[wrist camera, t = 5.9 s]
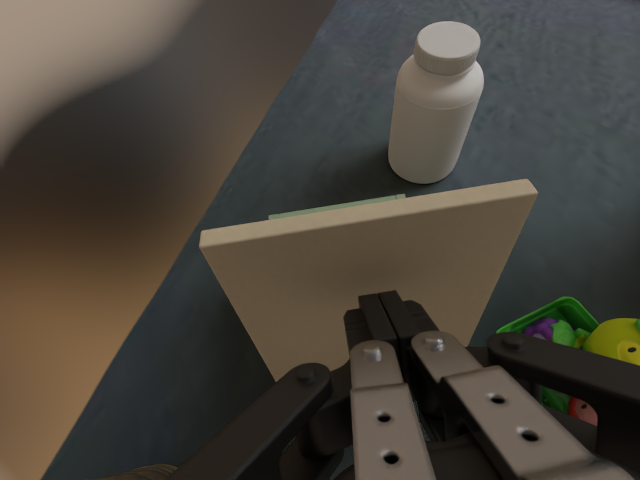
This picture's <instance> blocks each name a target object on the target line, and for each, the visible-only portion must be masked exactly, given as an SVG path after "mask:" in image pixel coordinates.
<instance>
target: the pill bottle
mask: <svg viewBox="0 0 640 480" xmlns="http://www.w3.org/2000/svg"><path fill="white" fill-rule="evenodd" d="M480 42H481V41H480V37H479V35H478V33H477V32H476V31H475V30H474V29H473V28H471V27H469V26H468V25H465V24H462V23H458V22H450V21H445V22H438V23H434V24H431V25H428V26H427V27H425V28H424V29H422V30H421V31H420V32H419V34H418V35H417V37H416V42H415V49H414V55H412V56H411V57H410V58H408V59H407V60H406V61H405V62H404V64H403V65H402V67H401V69H400V71H399V73H398V76H397V81H396V89H395V97H394V106H393V114H392V123H391V131H390V140H389V148H388V159H389V163H390V166H391V168H392V169H393V171H394V172H395V173H396V174H397V175H398V176H400V177H401V178H403V179H405V180H407V181H410V182H413V183H419V184H428V183H434V182H437V181H440V180H442V179H443V178H445V177H446V176H448V175H449V174H450V173H451V171H452V170H453V168H454V166H455V165H456V162H457V159H458V157H459V154H460V151H461V148H462V146H463V143H464V140H465V137H466V134H467V132H468V129H469V126H470V123H471V120H472V118H473V115H474V112H475V109H476V107H477V104H478V101H479V98H480V95H481V93H482V89H483V85H484V78H483V72H482V69H481V67H480V65H479V64H478V63H477V62H476V57H477V54H478V51H479V48H480Z"/></svg>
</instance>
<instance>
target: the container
mask: <svg viewBox="0 0 640 480" xmlns="http://www.w3.org/2000/svg"><path fill="white" fill-rule="evenodd" d="M177 468H178V467H175V466H172V465H168V464H154V465H149V466H145V467H141V468H137V469H133V470H130V471H128V472H124V473H118V474H114V475H111V476H108V477H106V478H100V479H89V480H164V479H166V478H167V477H168V476H169V475H170V474H171V473H173V472H174V471H175V470H176V469H177Z"/></svg>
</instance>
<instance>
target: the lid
mask: <svg viewBox="0 0 640 480" xmlns="http://www.w3.org/2000/svg"><path fill="white" fill-rule="evenodd" d="M537 195H538V192H537V190H536V189H535V188H534V186H533V185H532V184H531V182H530V181H529V180H528V179H521V180H515V181H509V182H503V183H497V184H490V185H484V186H478V187H472V188H465V189H459V190H453V191H447V192H441V193H434V194H428V195H422V196H416V197H409V198H403V199H397V200H391V201H384V202H378V203H372V204H366V205H360V206H353V207H347V208H341V209H335V210H328V211H322V212H316V213H310V214H304V215H297V216H291V217H285V218H279V219H272V220H266V221H260V222H254V223H247V224H241V225H235V226H229V227H223V228H216V229H210V230H204V231H202V232H201V236H200V244H199V248H200V250H201V251H202V253H203V255H204V257H205V258H206V260H207V262H208V264H209V266H210V267H211V269H212V271H213V273H214V274H215V276H216V278H217V280H218V281H219V283H220V285H221V287H222V288H223V290H224V292H225V294H226V295H227V297H228V299H229V301H230V302H231V304H232V306H233V308H234V309H235V311H236V313H237V315H238V316H239V318H240V320H241V322H242V323H243V325H244V327H245V329H246V330H247V332H248V334H249V336H250V337H251V339H252V341H253V343H254V344H255V346H256V348H257V350H258V351H259V353H260V355H261V357H262V359H263V360H264V362H265V364H266V366H267V367H268V369H269V371H270V373H271V374H272V376H273V378H274V380H275V381H276V382H277V381H278V380H279V379H280V378H282V377H283V376H284V375H285V374H286V373H287V372H288V371H290V370H291V369H292V368H294V367H296V366H298V365H301V364H305V363H320V364H323V365H325V366H326V367H328V369H329V370H330V371H333V370H335V369H337V368H339V367H341V366H343V365H344V364H345V363H346V362H347V361H348V360H349V358H350V356H349V351H348V345H347V338H346V332H345V326H344V319H343V316H344V315H345V313H346V311H347V310H351V309H358V308H359V303H358V296H361V295H368V294H374V293H376V294H377V293H380V292H386V291H392V290H396V291H397V293H398V294H399V296H400V297H401V299H402V301H407V300H413V301H415V302H417V303H419V304H421V305H422V307H423V308H424V309H425V311H426V312H427V314H428V315H429V317H430V318H431V319H432V321H433V322H434V323H435V325H436V326H437V327H438V329H439V330H440V331H442V332H446V333H449V334H451V335H453V336H454V337H455V338H456V339H457V340H458V341H459V342H460V343H461V344H462V345H463V346H464V347H467V346H468V344H469V342H470V340H471V338H472V335H473V333H474V331H475V329H476V327H477V325H478V322H479V320H480V318H481V316H482V314H483V312H484V309H485V307H486V305H487V303H488V301H489V299H490V296H491V294H492V292H493V290H494V288H495V286H496V283H497V281H498V279H499V277H500V275H501V273H502V270H503V268H504V266H505V264H506V262H507V260H508V257H509V255H510V253H511V251H512V249H513V247H514V244H515V242H516V240H517V238H518V236H519V234H520V231H521V229H522V227H523V225H524V223H525V221H526V218H527V216H528V214H529V212H530V210H531V208H532V206H533V203H534V201H535V199H536V197H537Z"/></svg>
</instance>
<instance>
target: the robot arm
mask: <svg viewBox="0 0 640 480" xmlns="http://www.w3.org/2000/svg"><path fill="white" fill-rule="evenodd" d="M358 303H359V308H358V309H351V310H347V311H346V313H345V315H344V316H343V319H344V326H345V332H346V338H347V345H348V351H349V356H350V358H349V360H348V361H347V362H346V363H345V364H344V365H343V366H341V367H339V368H337V369H335V370H333V371H330V370H329V369H328V367H326V366H325V365H323V364H320V363H305V364H301V365H298V366H296V367H294V368H292V369H291V370H290V371H288V372H287V373H286V374H285V375H284V376H283V377H282V378H280V379H279V380H278V381H277V382H276V383H275V384H274V385H272V386H271V387H270V388H269V389H268V390H267V391H265V392H264V393H263V394H262V395H261V396H260V397H259V398H257V399H256V400H255V401H254V402H253V403H252V404H251V405H249V406H248V407H247V408H246V409H245V410H244V411H243V412H241V413H240V414H239V415H238V416H237V417H236V418H234V419H233V420H232V421H231V422H230V423H229V424H228V425H226V426H225V427H224V428H223V429H222V430H221V431H220V432H218V433H217V434H216V435H215V436H214V437H213V438H212V439H210V440H209V441H208V442H207V443H206V444H205V445H203V446H202V447H201V448H200V449H199V450H198V451H197V452H195V453H194V454H193V455H192V456H191V457H190V458H189V459H187V460H186V461H185V462H184V463H183V464H182V465H181V466H179V467H178V468H177V469H176V470H175V471H174V472H173V473H171V474H170V475H169V476H168V477H167V478H166V479H164V480H328V479H329V478H330V476H331V475H332V474H333V472H334V471H335V469H336V468H337V467H338V465H339V464H340V462H341V461H342V459H343V456H344V448H346V447H348V446H350V445H353V447H354V464H353V465H351V466H350V467H348V468H347V469H345V470H344V471H343V472H341V473H340V474H339V475H338V476H337V477H336V478H335V479H334V480H640V366H639V365H636V364H632V363H628V362H625V361H621V360H618V359H614V358H610V357H607V356H603V355H599V354H596V353H592V352H588V351H585V350H581V349H577V348H574V347H570V346H566V345H563V344H559V343H555V342H552V341H548V340H544V339H541V338H537V337H533V336H530V335H526V334H522V333H517V332H501V333H497V334H494V335H492V336H490V337H489V338H488V340H487V348H476V347H464V346H463V345H462V344H461V343H460V342H459V341H458V340H457V339H456V338H455V337H454V336H453V335H451V334H449V333H446V332H442V331H440V330H439V329H438V327H437V326H436V325H435V323H434V322H433V321H432V319H431V318H430V317H429V315H428V314H427V312H426V311H425V309H424V308H423V307H422V305H421V304H419V303H417V302H415V301H413V300H407V301H402V299H401V297H400V296H399V294H398V293H397V291H396V290H392V291H386V292H380V293H377V294H376V293H374V294H368V295H361V296H358ZM542 386H544V387H547V388H550V389H553V390H555V391H558V392H561V393H564V394H567V395H569V396H572V397H575V398H578V399H580V400H583V401H584V402H586V403H587V404H589V405H590V406H591V407H592V408H593V409H594V411H595V412H596V414H597V426H595V425H593V424H590V423H588V422H585V421H583V420H580V419H578V418H575V417H573V416H570V415H568V414H565V413H563V412H560V411H558V410H555V409H553V408H550V407H548V406H545V405H543V404H542ZM415 400H416V401H417V404H418V411H419V419H420V422H421V423H422V425H423V427H424V429H425V431H426V433H427V435H428V437H429V439H430V441H424V437H423V434H422V431H421V427H420V424H419V420H418V417H417V414H416V410H415V407H414V404H413V401H415ZM295 435H296V439H295V441H294V442H293V443H292V444H291V445H290V446H289V447H288V448H287V449H286V451H285V452H284V453H283V454H282V451H283V450H284V448H285V446H286V445H287V444H288V443H289V442H290V441H291V440H292V439H293V437H294V436H295ZM281 454H282V455H281Z"/></svg>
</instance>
